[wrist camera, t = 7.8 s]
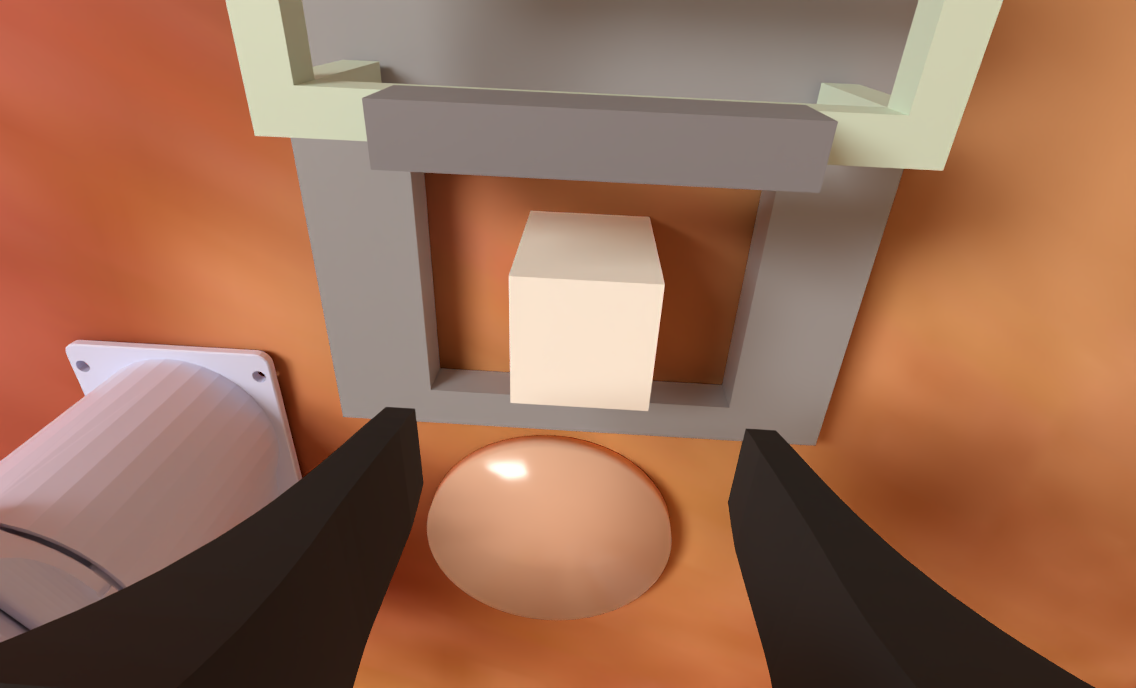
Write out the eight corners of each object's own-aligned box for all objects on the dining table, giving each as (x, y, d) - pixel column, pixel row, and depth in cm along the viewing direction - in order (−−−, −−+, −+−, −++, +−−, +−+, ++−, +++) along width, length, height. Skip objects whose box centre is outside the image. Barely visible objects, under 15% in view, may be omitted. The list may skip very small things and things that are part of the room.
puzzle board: (803, 421, 24) (815, 445, 22) (356, 394, 24) (343, 416, 23) (1071, -476, 12) (1126, -532, 11) (205, -500, 13) (160, -557, 11)
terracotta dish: (655, 613, 30) (656, 627, 29) (439, 598, 30) (435, 612, 30) (685, 443, 25) (687, 456, 24) (421, 427, 25) (416, 439, 24)
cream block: (637, 321, 22) (648, 411, 17) (529, 315, 22) (510, 403, 17) (649, 216, 20) (664, 284, 15) (530, 210, 20) (508, 276, 15)
